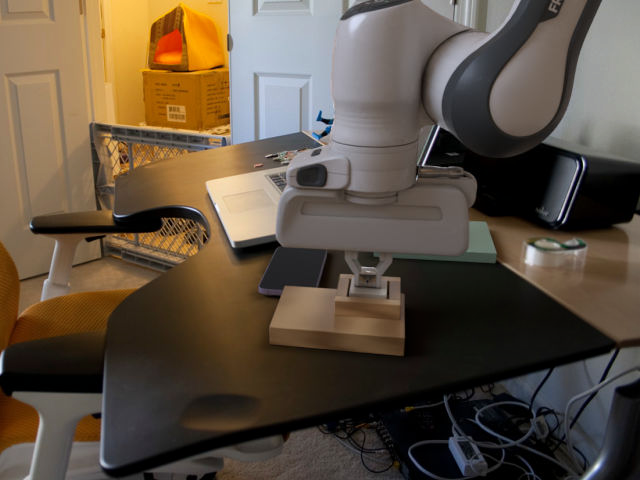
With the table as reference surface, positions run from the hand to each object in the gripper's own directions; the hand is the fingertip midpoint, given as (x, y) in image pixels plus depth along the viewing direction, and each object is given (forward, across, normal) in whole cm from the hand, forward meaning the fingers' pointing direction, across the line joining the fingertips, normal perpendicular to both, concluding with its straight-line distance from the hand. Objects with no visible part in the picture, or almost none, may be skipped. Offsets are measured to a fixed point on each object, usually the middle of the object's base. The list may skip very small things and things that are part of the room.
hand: (367, 285), depth 71 cm
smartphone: (+5, +10, -11) cm, 15 cm away
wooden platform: (+4, +3, +2) cm, 6 cm away
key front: (+2, 0, 0) cm, 2 cm away
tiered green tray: (+4, -8, -24) cm, 26 cm away
